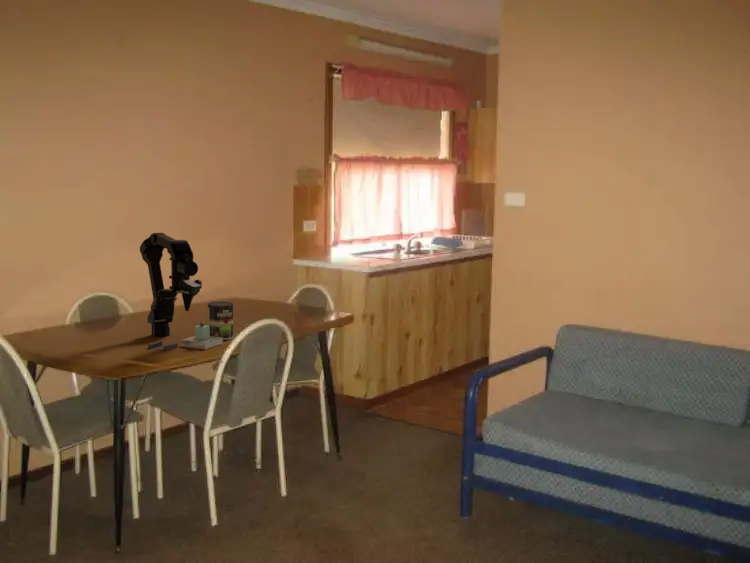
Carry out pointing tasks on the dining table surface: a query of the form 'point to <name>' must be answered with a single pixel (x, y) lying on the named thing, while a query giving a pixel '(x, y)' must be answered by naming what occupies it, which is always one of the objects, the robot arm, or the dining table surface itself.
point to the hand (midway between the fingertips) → (179, 313)
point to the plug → (202, 332)
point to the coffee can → (221, 319)
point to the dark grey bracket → (162, 346)
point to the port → (202, 342)
